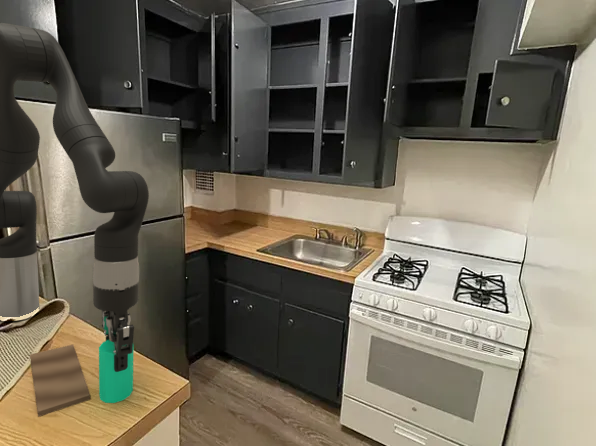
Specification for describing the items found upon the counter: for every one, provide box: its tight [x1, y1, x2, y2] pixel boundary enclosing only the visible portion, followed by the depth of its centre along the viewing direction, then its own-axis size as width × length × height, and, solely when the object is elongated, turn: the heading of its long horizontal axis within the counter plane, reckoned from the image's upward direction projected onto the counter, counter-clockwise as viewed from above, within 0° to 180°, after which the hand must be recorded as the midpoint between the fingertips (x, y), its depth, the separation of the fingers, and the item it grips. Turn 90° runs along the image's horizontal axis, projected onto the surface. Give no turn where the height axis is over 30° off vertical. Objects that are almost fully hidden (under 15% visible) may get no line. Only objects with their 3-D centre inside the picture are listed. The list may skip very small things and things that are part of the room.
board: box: [29, 344, 91, 417], centre depth 70 cm, size 20×8×1 cm, turn 40°
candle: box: [98, 340, 135, 404], centre depth 67 cm, size 6×6×12 cm
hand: (116, 360), depth 67 cm, fingers closed on candle, 6 cm apart
